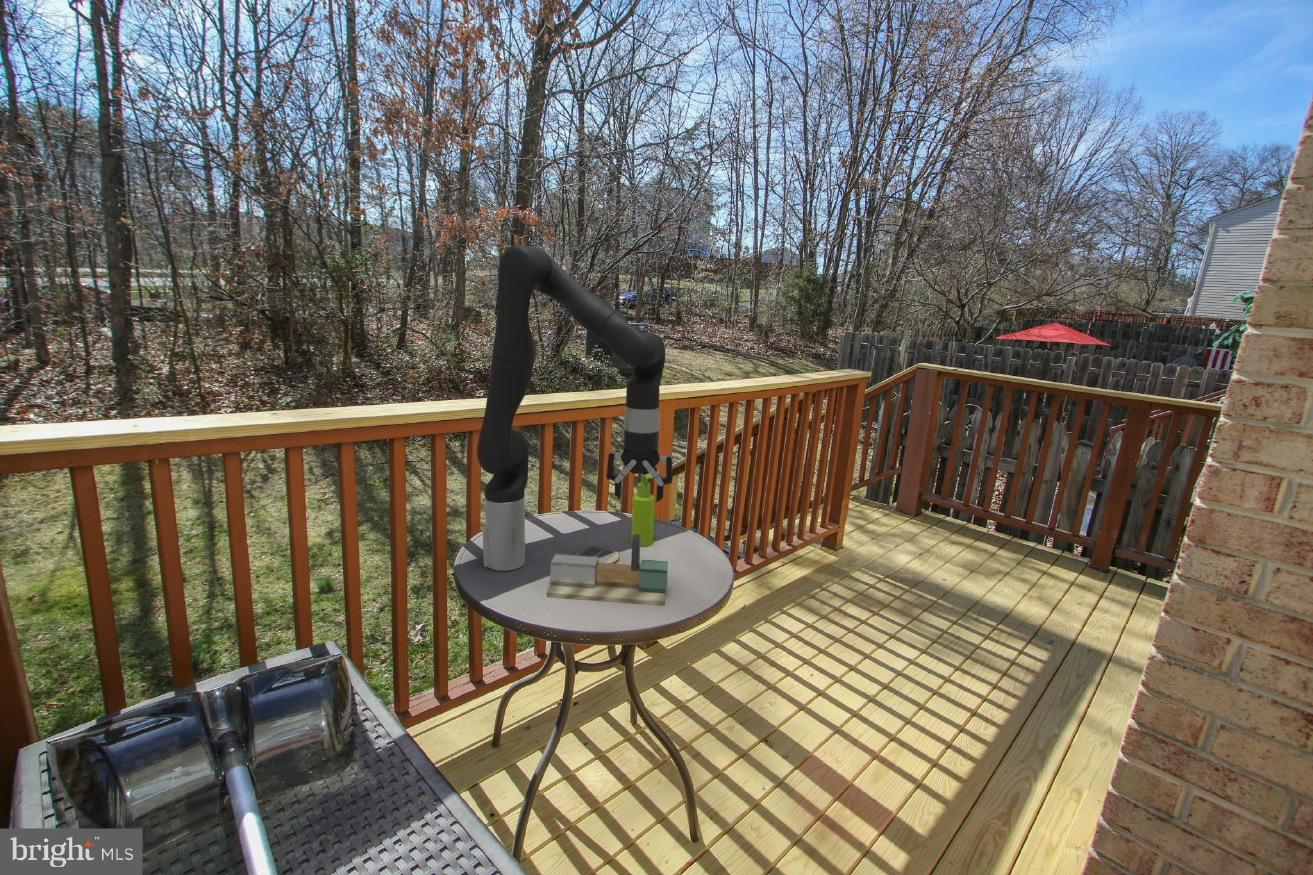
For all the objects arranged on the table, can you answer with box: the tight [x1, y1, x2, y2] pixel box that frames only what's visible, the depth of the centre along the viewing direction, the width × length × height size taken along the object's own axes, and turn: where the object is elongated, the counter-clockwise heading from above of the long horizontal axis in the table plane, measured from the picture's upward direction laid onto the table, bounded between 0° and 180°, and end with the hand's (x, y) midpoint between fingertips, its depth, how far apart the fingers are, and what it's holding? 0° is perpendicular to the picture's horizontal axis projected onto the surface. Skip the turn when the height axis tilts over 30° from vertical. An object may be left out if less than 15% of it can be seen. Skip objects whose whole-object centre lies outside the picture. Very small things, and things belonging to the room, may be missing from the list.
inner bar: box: [595, 534, 641, 583], centre depth 138 cm, size 18×3×10 cm, turn 86°
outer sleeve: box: [550, 553, 600, 588], centre depth 139 cm, size 10×5×6 cm, turn 85°
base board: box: [546, 576, 669, 606], centre depth 140 cm, size 26×12×1 cm, turn 86°
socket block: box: [639, 559, 669, 594], centre depth 138 cm, size 6×5×6 cm
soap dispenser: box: [630, 473, 656, 548], centre depth 163 cm, size 6×7×20 cm
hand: (638, 499), depth 134 cm, fingers open, 8 cm apart
